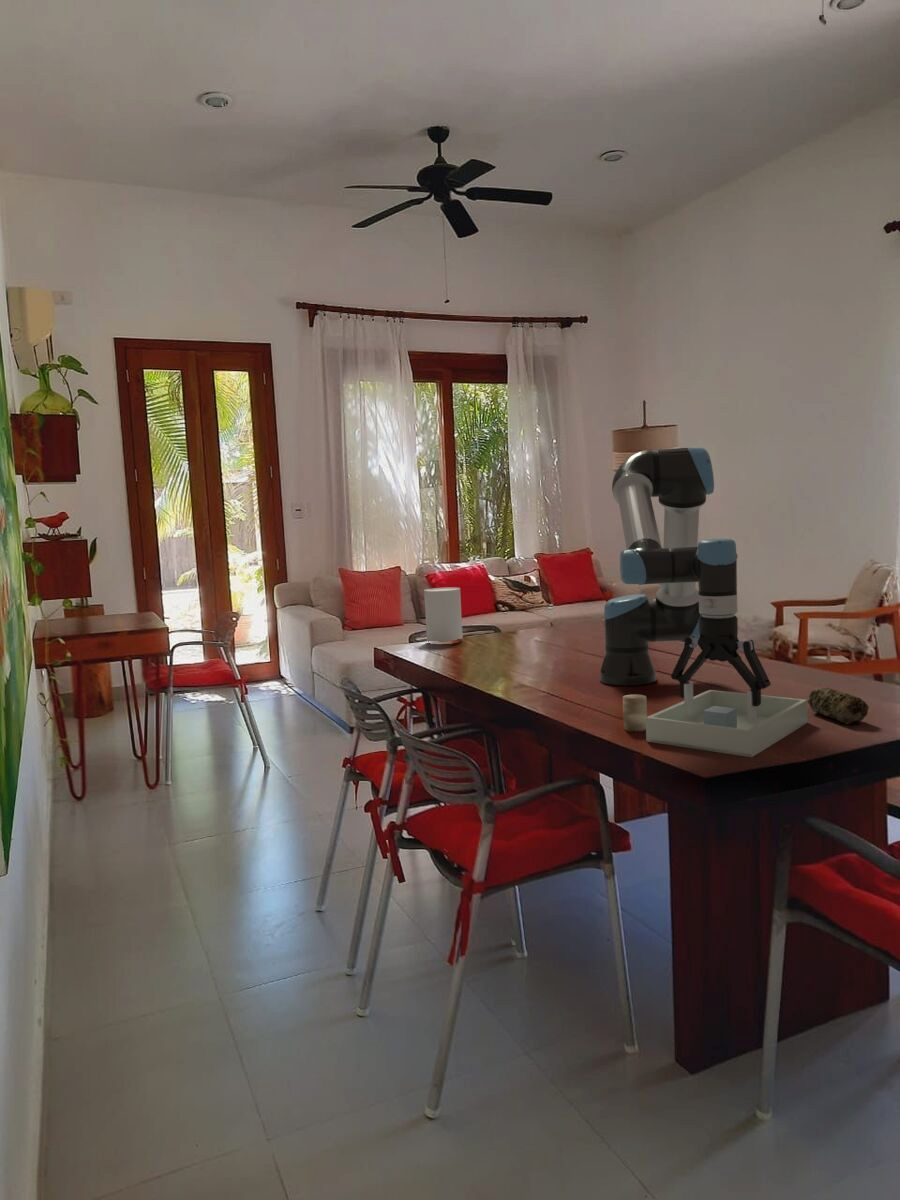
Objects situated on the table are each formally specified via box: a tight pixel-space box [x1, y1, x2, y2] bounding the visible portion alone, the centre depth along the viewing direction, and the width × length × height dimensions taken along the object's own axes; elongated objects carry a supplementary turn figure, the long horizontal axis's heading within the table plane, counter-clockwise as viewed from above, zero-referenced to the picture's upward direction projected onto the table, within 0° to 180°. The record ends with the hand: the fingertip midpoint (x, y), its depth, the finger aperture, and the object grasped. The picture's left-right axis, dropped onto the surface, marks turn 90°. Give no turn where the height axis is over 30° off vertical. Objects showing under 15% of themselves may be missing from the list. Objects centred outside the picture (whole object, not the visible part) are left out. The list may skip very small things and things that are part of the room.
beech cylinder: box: [622, 694, 648, 733], centre depth 188 cm, size 5×5×7 cm
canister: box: [423, 587, 463, 642], centre depth 325 cm, size 14×14×20 cm
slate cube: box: [703, 706, 737, 728], centre depth 178 cm, size 5×5×5 cm
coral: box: [807, 687, 869, 725], centre depth 187 cm, size 14×6×6 cm, turn 11°
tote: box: [645, 689, 809, 758], centre depth 181 cm, size 22×30×5 cm
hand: (719, 717), depth 178 cm, fingers open, 13 cm apart
